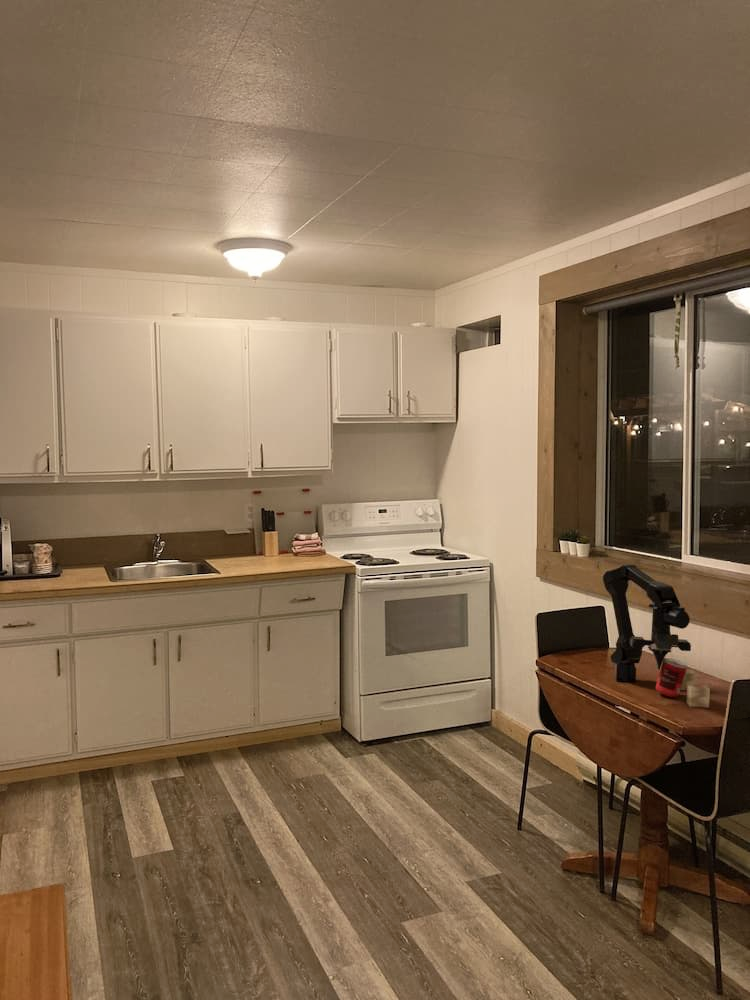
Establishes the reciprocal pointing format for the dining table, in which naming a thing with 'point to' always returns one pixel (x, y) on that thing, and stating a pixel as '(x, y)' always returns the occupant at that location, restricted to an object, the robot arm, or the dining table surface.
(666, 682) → the canned food
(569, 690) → the dining table surface
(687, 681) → the grey-green block
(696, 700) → the beech block
